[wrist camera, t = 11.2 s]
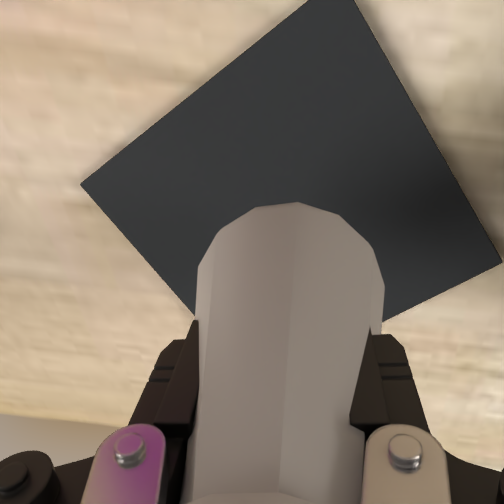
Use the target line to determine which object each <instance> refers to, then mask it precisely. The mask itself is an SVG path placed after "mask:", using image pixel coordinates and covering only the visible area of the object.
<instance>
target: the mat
mask: <svg viewBox="0 0 504 504" xmlns="http://www.w3.org/2000/svg"><path fill="white" fill-rule="evenodd" d="M80 185H81V186H82V188H83V189H84V190H85V191H86V192H87V193H88V194H89V196H90V197H91V198H92V199H93V200H94V201H95V202H96V204H97V205H98V206H99V207H100V208H101V209H102V210H103V212H104V213H105V214H106V215H107V216H108V217H109V218H110V220H111V221H112V222H113V223H114V224H115V225H116V226H117V228H118V229H119V230H120V231H121V232H122V233H123V234H124V236H125V237H126V238H127V239H128V240H129V241H130V242H131V244H132V245H133V246H134V247H135V248H136V249H137V250H138V252H139V253H140V254H141V255H142V256H143V257H144V258H145V260H146V261H147V262H148V263H149V264H150V265H151V266H152V268H153V269H154V270H155V271H156V272H157V273H158V274H159V276H160V277H161V278H162V279H163V280H164V281H165V282H166V284H167V285H168V286H169V287H170V288H171V289H172V290H173V292H174V293H175V294H176V295H177V296H178V297H179V298H180V300H181V301H182V302H183V303H184V304H185V305H186V306H187V308H188V309H189V310H190V311H191V312H192V313H193V314H194V316H195V310H196V293H197V276H198V266H199V264H200V262H201V261H202V259H203V257H204V255H205V254H206V252H207V250H208V248H209V246H210V245H211V243H212V241H213V239H214V238H215V236H216V234H217V233H218V232H219V231H220V230H221V229H222V228H223V227H225V226H226V225H228V224H229V223H231V222H233V221H234V220H236V219H237V218H239V217H241V216H242V215H244V214H246V213H247V212H249V211H250V210H252V209H254V208H255V207H261V206H269V205H278V204H286V203H295V202H299V203H302V204H306V205H309V206H312V207H315V208H318V209H321V210H325V211H328V212H331V213H334V214H337V215H339V216H340V217H341V218H343V219H344V220H345V221H346V222H347V223H348V224H349V225H350V226H351V227H352V228H353V229H354V230H355V231H356V232H357V233H359V234H360V235H361V236H362V237H363V238H364V239H365V240H366V241H367V242H368V243H369V244H370V246H371V247H372V248H373V250H374V254H375V257H376V260H377V263H378V266H379V269H380V273H381V276H382V279H383V282H384V285H385V291H384V303H383V316H382V322H384V321H386V320H388V319H390V318H392V317H394V316H396V315H398V314H400V313H402V312H404V311H406V310H408V309H410V308H412V307H414V306H416V305H418V304H420V303H422V302H424V301H426V300H428V299H430V298H432V297H434V296H436V295H438V294H440V293H442V292H444V291H446V290H448V289H450V288H452V287H454V286H456V285H458V284H460V283H463V282H465V281H467V280H469V279H471V278H473V277H475V276H477V275H479V274H481V273H483V272H485V271H487V270H489V269H491V268H493V267H495V266H497V265H499V264H501V263H502V260H501V258H500V256H499V254H498V252H497V251H496V249H495V247H494V245H493V244H492V242H491V240H490V238H489V237H488V235H487V233H486V231H485V230H484V228H483V226H482V224H481V223H480V221H479V219H478V217H477V216H476V214H475V212H474V210H473V209H472V207H471V205H470V203H469V202H468V200H467V198H466V196H465V195H464V193H463V191H462V189H461V188H460V186H459V184H458V182H457V181H456V179H455V177H454V175H453V173H452V172H451V170H450V168H449V166H448V165H447V163H446V161H445V159H444V158H443V156H442V154H441V152H440V151H439V149H438V147H437V145H436V144H435V142H434V140H433V138H432V137H431V135H430V133H429V131H428V130H427V128H426V126H425V124H424V123H423V121H422V119H421V117H420V116H419V114H418V112H417V110H416V109H415V107H414V105H413V103H412V102H411V100H410V98H409V96H408V94H407V93H406V91H405V89H404V87H403V86H402V84H401V82H400V80H399V79H398V77H397V75H396V73H395V72H394V70H393V68H392V66H391V65H390V63H389V61H388V59H387V58H386V56H385V54H384V52H383V51H382V49H381V47H380V45H379V44H378V42H377V40H376V38H375V37H374V35H373V33H372V31H371V30H370V28H369V26H368V24H367V22H366V21H365V19H364V17H363V15H362V14H361V12H360V10H359V8H358V7H357V5H356V3H355V1H354V0H308V1H307V2H306V3H305V4H303V5H302V6H301V7H300V8H298V9H297V10H296V11H295V12H293V13H292V14H291V15H290V16H288V17H287V18H286V19H285V20H283V21H282V22H281V23H280V24H278V25H277V26H276V27H275V28H273V29H272V30H271V31H270V32H268V33H267V34H266V35H265V36H263V37H262V38H261V39H260V40H259V41H257V42H256V43H255V44H254V45H252V46H251V47H250V48H249V49H247V50H246V51H245V52H244V53H242V54H241V55H240V56H239V57H237V58H236V59H235V60H234V61H232V62H231V63H230V64H229V65H227V66H226V67H225V68H224V69H222V70H221V71H220V72H219V73H217V74H216V75H215V76H214V77H212V78H211V79H210V80H209V81H207V82H206V83H205V84H204V85H203V86H201V87H200V88H199V89H198V90H196V91H195V92H194V93H193V94H191V95H190V96H189V97H188V98H186V99H185V100H184V101H183V102H181V103H180V104H179V105H178V106H176V107H175V108H174V109H173V110H171V111H170V112H169V113H168V114H166V115H165V116H164V117H163V118H161V119H160V120H159V121H158V122H156V123H155V124H154V125H153V126H151V127H150V128H149V129H148V130H147V131H145V132H144V133H143V134H142V135H140V136H139V137H138V138H137V139H135V140H134V141H133V142H132V143H130V144H129V145H128V146H127V147H125V148H124V149H123V150H122V151H120V152H119V153H118V154H117V155H115V156H114V157H113V158H112V159H110V160H109V161H108V162H107V163H105V164H104V165H103V166H102V167H100V168H99V169H98V170H97V171H95V172H94V173H93V174H92V175H91V176H89V177H88V178H87V179H86V180H84V181H83V182H82V183H81V184H80Z"/></svg>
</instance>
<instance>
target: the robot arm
mask: <svg viewBox="0 0 504 504" xmlns="http://www.w3.org/2000/svg"><path fill="white" fill-rule="evenodd" d="M198 393H199V321H198V320H194V321H193V322H192V324H191V327H190V329H189V332H188V334H187V337H186V339H180V340H173V341H172V342H171V343H170V344H169V345H168V346H167V347H166V348H165V349H164V350H163V351H162V352H161V353H160V355H159V357H158V360H157V362H156V364H155V366H154V370H153V371H152V373H151V375H150V377H149V382H147V384H146V386H145V388H144V391H143V393H142V395H141V397H140V399H139V402H138V404H137V406H136V408H135V410H134V413H133V415H132V417H131V419H130V421H129V424H128V426H125V427H123V428H121V429H118V430H117V431H115V432H113V433H112V434H111V435H109V436H108V437H107V438H106V439H105V440H104V441H103V442H102V443H101V445H100V446H99V448H98V449H97V451H96V454H95V456H93V457H90V458H87V459H83V460H80V461H76V462H72V463H69V464H65V465H61V466H57V467H54V466H53V464H52V462H51V459H50V458H49V456H48V455H47V454H45V453H43V452H40V451H25V452H21V453H17V454H14V455H12V456H10V457H8V458H6V459H4V460H3V461H1V462H0V504H179V500H180V494H181V487H182V481H183V474H184V467H185V461H186V454H187V443H188V439H189V437H190V436H191V434H192V428H193V422H194V416H195V410H196V405H197V399H198ZM349 417H350V425H351V426H353V427H355V428H357V429H359V430H361V431H363V432H364V433H365V452H364V472H363V485H362V498H361V504H504V468H503V470H502V472H499V471H496V470H492V469H489V468H485V467H481V466H478V465H474V464H471V463H468V462H465V461H463V460H461V459H458V458H456V457H455V456H453V455H451V454H450V453H448V452H447V451H446V450H444V449H443V447H442V446H441V444H440V443H439V442H438V441H437V440H436V438H434V437H433V436H432V435H431V433H430V430H429V428H428V425H427V421H426V418H425V415H424V412H423V408H422V405H421V402H420V398H419V395H418V392H417V389H416V385H415V382H414V379H413V376H412V372H411V369H410V366H409V363H408V359H407V356H406V353H405V350H404V347H403V346H402V345H401V344H400V343H399V342H398V341H397V340H396V339H395V338H394V337H393V336H392V335H391V334H380V335H372V333H371V328H369V333H368V337H367V341H366V345H365V349H364V354H363V358H362V362H361V366H360V371H359V375H358V379H357V383H356V388H355V392H354V396H353V400H352V404H351V409H350V413H349Z"/></svg>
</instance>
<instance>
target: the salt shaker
mask: <svg viewBox="0 0 504 504" xmlns="http://www.w3.org/2000/svg"><path fill="white" fill-rule="evenodd" d="M384 291H385V285H384V282H383V279H382V276H381V273H380V269H379V266H378V263H377V260H376V257H375V254H374V250H373V248H372V247H371V246H370V244H369V243H368V242H367V241H366V240H365V239H364V238H363V237H362V236H361V235H360V234H359V233H357V232H356V231H355V230H354V229H353V228H352V227H351V226H350V225H349V224H348V223H347V222H346V221H345V220H344V219H343V218H341V217H340V216H339V215H337V214H334V213H331V212H328V211H325V210H321V209H318V208H315V207H312V206H309V205H306V204H302V203H299V202H295V203H286V204H278V205H269V206H261V207H255V208H254V209H252V210H250V211H249V212H247V213H246V214H244V215H242V216H241V217H239V218H237V219H236V220H234V221H233V222H231V223H229V224H228V225H226V226H225V227H223V228H222V229H221V230H220V231H219V232H218V233H217V234H216V236H215V238H214V239H213V241H212V243H211V245H210V246H209V248H208V250H207V252H206V254H205V255H204V257H203V259H202V261H201V262H200V264H199V266H198V276H197V293H196V310H195V320H198V321H199V393H198V399H197V405H196V410H195V416H194V422H193V428H192V434H191V436H190V437H189V439H188V443H187V454H186V461H185V467H184V474H183V481H182V487H181V494H180V500H179V504H361V498H362V485H363V472H364V452H365V433H364V432H363V431H361V430H359V429H357V428H355V427H353V426H351V425H350V417H349V413H350V409H351V404H352V400H353V396H354V392H355V388H356V383H357V379H358V375H359V371H360V366H361V362H362V358H363V354H364V349H365V345H366V341H367V337H368V333H369V328H371V333H372V335H380V334H381V328H382V316H383V303H384Z"/></svg>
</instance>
